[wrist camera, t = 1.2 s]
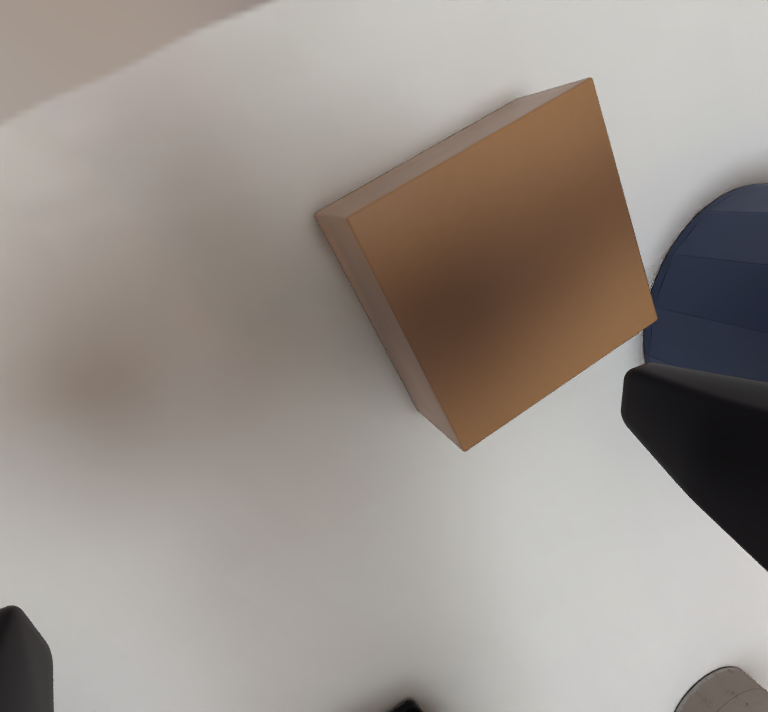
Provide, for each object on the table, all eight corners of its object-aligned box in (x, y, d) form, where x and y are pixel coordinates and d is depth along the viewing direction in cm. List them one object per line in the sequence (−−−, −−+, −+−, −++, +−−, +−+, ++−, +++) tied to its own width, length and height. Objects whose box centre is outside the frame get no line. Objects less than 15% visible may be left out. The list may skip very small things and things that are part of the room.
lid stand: (585, 301, 26) (659, 319, 22) (417, 411, 25) (464, 453, 21) (518, 97, 22) (593, 76, 18) (313, 213, 21) (345, 217, 17)
